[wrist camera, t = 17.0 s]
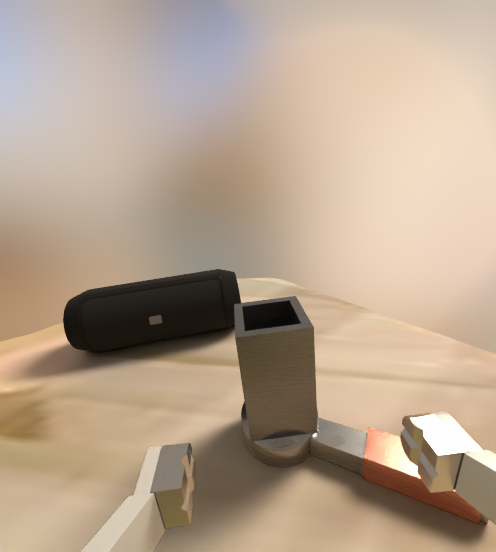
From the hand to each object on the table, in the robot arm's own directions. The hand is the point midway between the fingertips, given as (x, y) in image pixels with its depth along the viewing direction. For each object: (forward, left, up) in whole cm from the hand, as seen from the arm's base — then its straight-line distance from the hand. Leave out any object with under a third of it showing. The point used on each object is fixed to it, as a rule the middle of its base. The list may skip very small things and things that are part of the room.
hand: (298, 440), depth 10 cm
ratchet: (+10, 0, -13) cm, 17 cm away
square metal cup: (+10, +6, -11) cm, 16 cm away
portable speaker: (+20, +30, -14) cm, 39 cm away
